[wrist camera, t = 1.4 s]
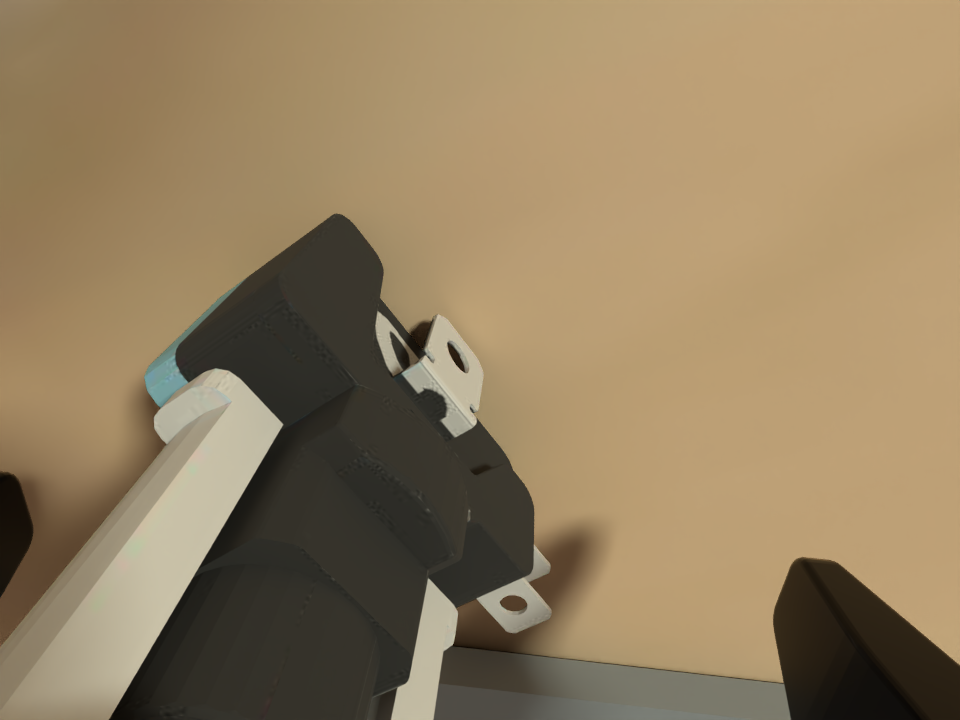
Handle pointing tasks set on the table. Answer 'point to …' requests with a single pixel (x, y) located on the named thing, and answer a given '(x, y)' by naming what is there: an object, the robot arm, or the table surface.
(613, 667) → the socket board
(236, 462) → the push button
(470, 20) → the table surface
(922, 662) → the robot arm
